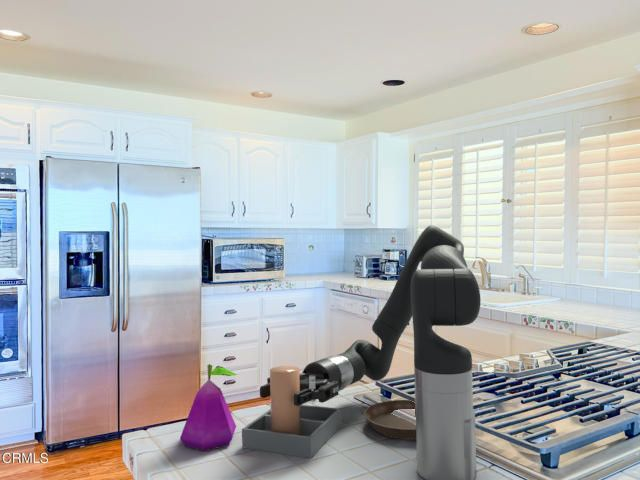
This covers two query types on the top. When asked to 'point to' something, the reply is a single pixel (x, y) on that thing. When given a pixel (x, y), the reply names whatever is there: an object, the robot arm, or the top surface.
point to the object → (391, 419)
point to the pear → (209, 417)
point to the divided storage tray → (314, 434)
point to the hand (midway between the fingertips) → (277, 396)
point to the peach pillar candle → (284, 400)
